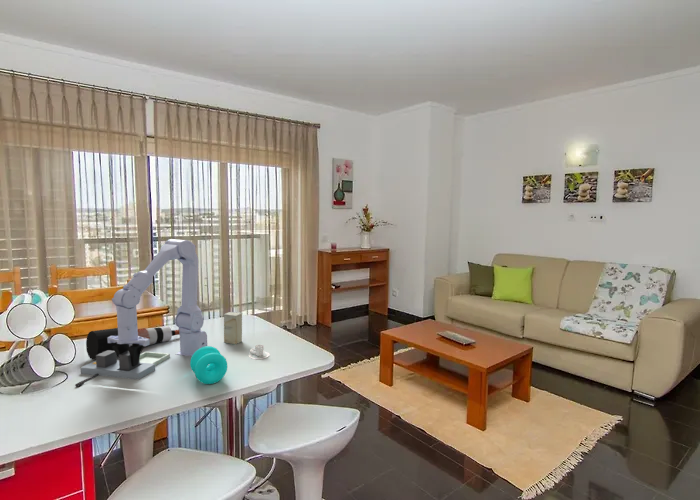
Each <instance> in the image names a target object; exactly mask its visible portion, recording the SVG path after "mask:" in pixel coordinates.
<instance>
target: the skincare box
mask: <svg viewBox="0 0 700 500" xmlns="http://www.w3.org/2000/svg"><path fill="white" fill-rule="evenodd" d="M242 341H243V313H242V312H235V311H229V312H226V313H223V343H227V344H232V345H237V343H238V344H240V343H241V342H242Z"/></svg>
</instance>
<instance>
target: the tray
mask: <svg viewBox="0 0 700 500" xmlns="http://www.w3.org/2000/svg"><path fill="white" fill-rule="evenodd" d="M169 358H171V354H170V353H164V352H154V351H144V352H143V353H142V352H141V354H140V357H139V360H140V363H150V364H155V367H156V366H158V365H159V364H161V363H163V362H164V361H166V360H168V359H169Z"/></svg>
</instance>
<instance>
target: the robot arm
mask: <svg viewBox="0 0 700 500" xmlns="http://www.w3.org/2000/svg"><path fill="white" fill-rule="evenodd" d="M173 260H178V262H179V263H181V264H182V276H181V278H182V279H181V280H182V281H181V284H182V285H181V304H180V306H179V307H178V308H177V311H176V315H175V318H174V324H175V326H176V327H178V330H179V333H180V335H179V351H178V352H175V354H174V355H176V356H187V357H192V355H193V354H194V353H195V352H196V351H197V350H198V349H200V348H202V347H205V346H208V335H207V332H206V331H204V330H201V329H202V327H203V326H204V317H203V313H202V310H201V308H200V306H199V305H198V283H199V282H198V281H199V257H198V254H197V252H196V245H195V244H194V243H193V242H192V241H191V240H188V239H174V238H169V239H168V240H166V241H165V242H164V244H163V245H161V247H160V249H159V251H158V253H157V254H156V255H155V256H154V258H153V259H152V260H151V261H150V263H149V264H148V265H147V266H146V267H145V269H144V270H140V271H137V272H134V273H133V275H132V278H131V279H130V280H128V282H127V283H126V284H124V285H123V286H122V287H123V288H121V289H118V290H116V292H115V293H114V294H113V297H112V298H111V301H112V303H113V304H114V305H115V306H116V309H115V310H116V318H117V321H116V322H117V328H118V336H110V337H108V338H107V339H108V343H115V345H114V346H112V348H113V350H114V351H115V352H116V354H117V358H119V355H120V354H122V353H124V352H126V351H129V353H130V357H131V364H132V366H133V367H134V366H136V365H138V362H139V357H140V354H142V352H143V349H144V347H147V346H150V345H149V344H150V341H149V339H147V338H143V337H140V336H138V329H139V328H138V315H137V314H138V312H137V310H138V309H137V305H139V304H140V301H141V296H143V293H144V292H145V291H146V290H147V289H148V288H149V287H150V285H151V284H153V282H154V278H153V277H154V275H156V274H157V273H158V272H159V271H160V270H161V269H162V268H163V267H164V266H165V265H166V264H167V263H168V262H169V261H173ZM129 344H132V346H130V347H129Z"/></svg>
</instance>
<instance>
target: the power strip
mask: <svg viewBox="0 0 700 500" xmlns="http://www.w3.org/2000/svg"><path fill="white" fill-rule="evenodd" d="M154 371H156V366H155V364H150V363H140V366H138V367H136V368H134V369H132V370H131V371H121V370H120V367H119V359H118V355H117V354H116V352H115V351H111V350H107V351H105V352H102V353H100V354H98V355H96V359H95V360H94V361H92V362H90V363H87V364H85V365H83V366H81V367H80V373H81V374H84V375H91V376H90V377H88V378H86V379H84V380H81V381H79V382H77V383H75V384H74V386H75V388H77V387H80V386H82V385H84V384H85V383H87V382H88V381H90V380H92V379H95V378H96V377H99V376H102V377H112V378H121V379H131V380H140V379H142V378H143V377H145V376H147V375H149V374H150V373H152V372H154Z"/></svg>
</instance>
